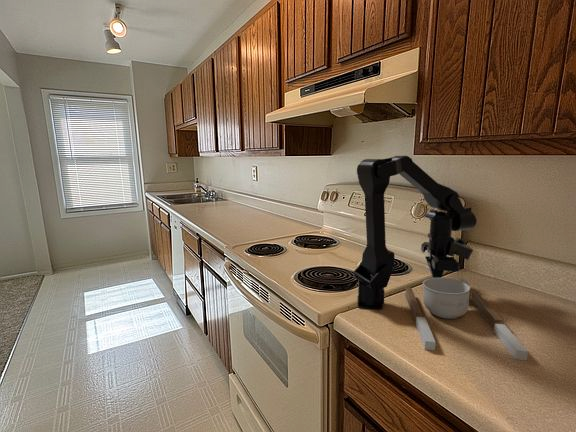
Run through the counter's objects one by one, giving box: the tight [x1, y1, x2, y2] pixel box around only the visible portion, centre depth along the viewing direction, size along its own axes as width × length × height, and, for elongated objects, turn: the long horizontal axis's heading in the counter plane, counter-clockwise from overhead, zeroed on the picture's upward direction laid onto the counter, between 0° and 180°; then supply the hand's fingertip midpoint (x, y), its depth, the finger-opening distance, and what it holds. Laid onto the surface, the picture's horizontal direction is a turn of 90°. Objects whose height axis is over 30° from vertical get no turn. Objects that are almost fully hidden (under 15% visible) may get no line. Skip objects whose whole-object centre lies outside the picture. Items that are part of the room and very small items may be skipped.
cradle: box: [404, 286, 503, 329], centre depth 80 cm, size 19×15×2 cm
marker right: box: [493, 323, 529, 361], centre depth 66 cm, size 2×10×2 cm, turn 168°
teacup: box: [422, 277, 471, 320], centre depth 79 cm, size 14×11×8 cm
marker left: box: [415, 316, 437, 351], centre depth 69 cm, size 2×10×2 cm, turn 168°
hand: (436, 282), depth 92 cm, fingers closed
